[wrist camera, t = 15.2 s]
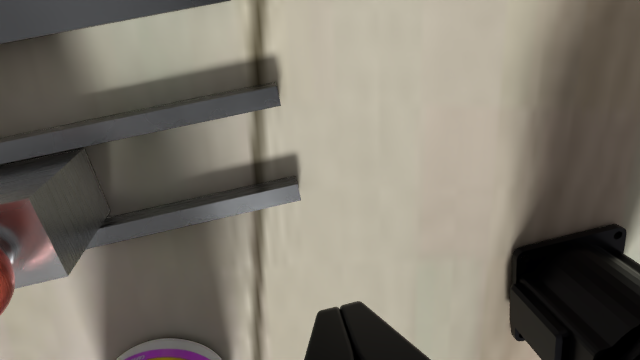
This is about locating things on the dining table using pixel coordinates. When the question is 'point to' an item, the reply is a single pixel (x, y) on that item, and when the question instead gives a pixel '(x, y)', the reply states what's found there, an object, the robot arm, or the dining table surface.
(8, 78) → the dining table surface
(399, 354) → the robot arm
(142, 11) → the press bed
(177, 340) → the supplement bottle
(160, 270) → the dining table surface
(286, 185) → the ram track
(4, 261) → the handle
